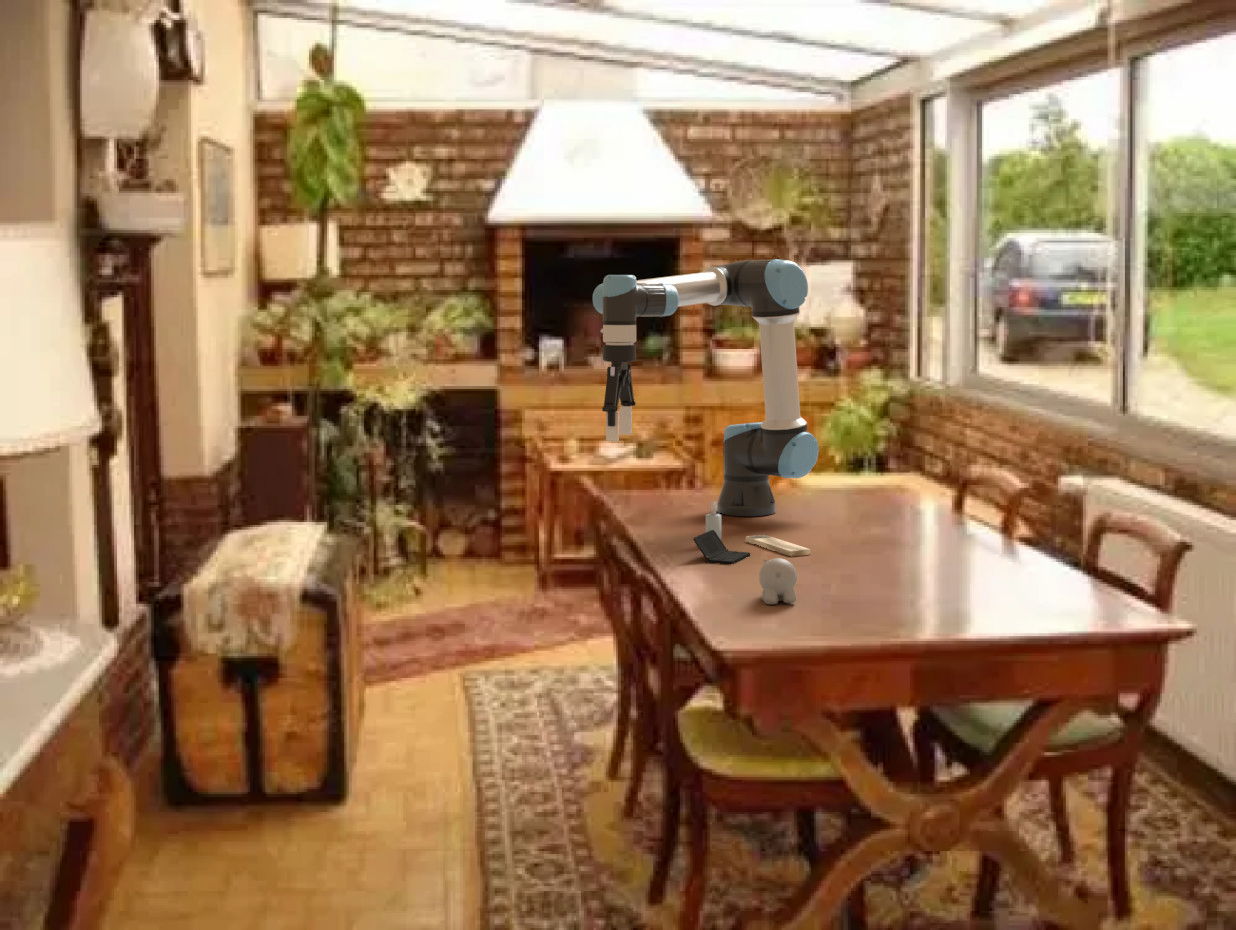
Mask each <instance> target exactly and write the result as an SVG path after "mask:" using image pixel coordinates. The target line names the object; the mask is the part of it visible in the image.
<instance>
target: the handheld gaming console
mask: <svg viewBox="0 0 1236 930" xmlns="http://www.w3.org/2000/svg"><path fill="white" fill-rule="evenodd" d="M692 541H693V542H694V543H695V545H696V546H697V548H698V549H699V551H700V552H701V554H702V555H703V557H704V558H705V559H706V562H705V563H707V564H715V563H720V564H719V565H726V564H733V565H735V564H737V563H739V562H740V561H743V560H744V559H747V558H746V557H748V558H750V557H751V552H748V551H746V552H745V551H737V550H729V549H728V548H727V547H726V546H725V544H724V543H723V541H722V539H721V540H720V538H719V537H718V535H717V534H716V532H715V531H714V530H711V531H709V532H706V531H705V532H704V533H702V534H699V535H697V536H695V537H693V538H692ZM734 563H735V564H734Z"/></svg>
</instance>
